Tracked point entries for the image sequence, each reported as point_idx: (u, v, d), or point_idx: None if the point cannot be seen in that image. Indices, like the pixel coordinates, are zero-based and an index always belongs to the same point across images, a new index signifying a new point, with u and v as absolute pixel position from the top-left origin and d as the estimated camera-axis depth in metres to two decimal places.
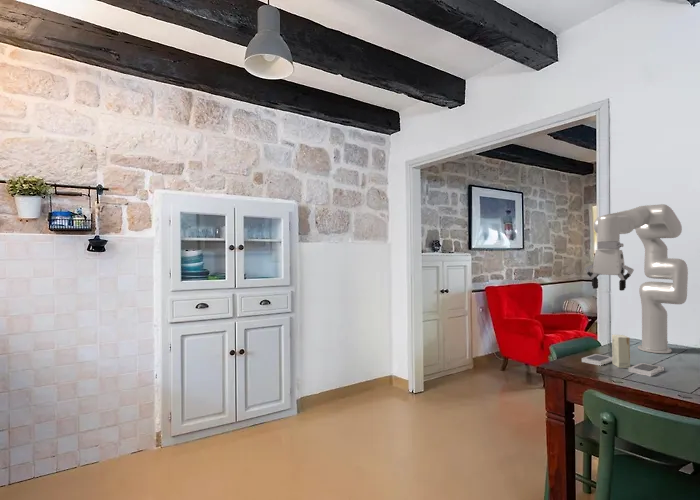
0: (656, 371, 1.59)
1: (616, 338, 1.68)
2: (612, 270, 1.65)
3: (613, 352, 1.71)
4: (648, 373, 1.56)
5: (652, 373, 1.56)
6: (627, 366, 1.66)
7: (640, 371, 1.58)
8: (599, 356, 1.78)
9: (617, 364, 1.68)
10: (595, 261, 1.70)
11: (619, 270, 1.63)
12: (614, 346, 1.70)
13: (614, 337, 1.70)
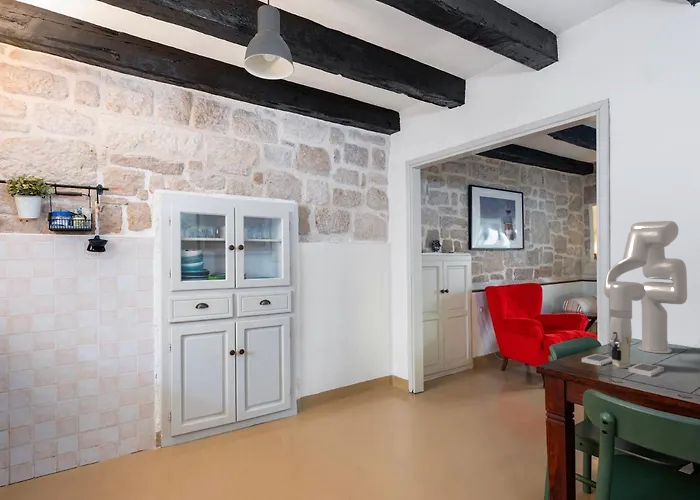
0: (656, 371, 1.59)
1: None
2: None
3: None
4: (648, 373, 1.56)
5: (652, 373, 1.56)
6: (627, 366, 1.66)
7: (640, 371, 1.58)
8: (599, 356, 1.78)
9: (617, 364, 1.68)
10: (622, 331, 1.65)
11: None
12: None
13: None
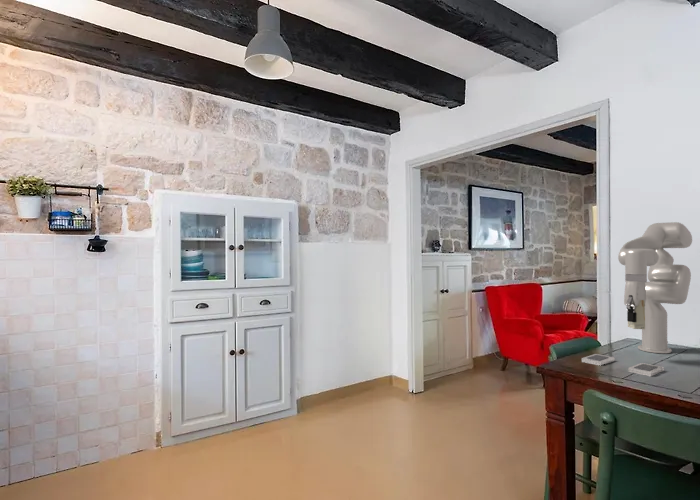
0: (656, 371, 1.59)
1: None
2: None
3: None
4: (648, 373, 1.56)
5: (652, 373, 1.56)
6: (642, 327, 1.74)
7: (640, 371, 1.58)
8: (599, 356, 1.78)
9: (632, 326, 1.76)
10: (637, 294, 1.73)
11: None
12: None
13: None
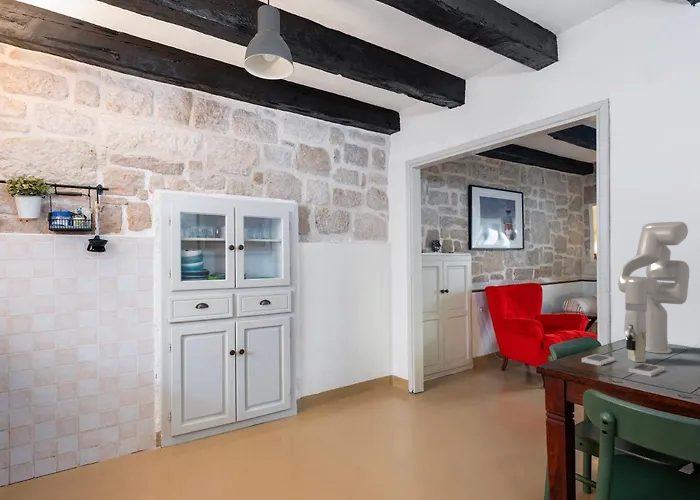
0: (656, 371, 1.59)
1: None
2: (644, 330, 1.77)
3: None
4: (648, 373, 1.56)
5: (652, 373, 1.56)
6: (643, 360, 1.74)
7: (640, 371, 1.58)
8: (599, 356, 1.78)
9: (633, 358, 1.76)
10: (637, 323, 1.73)
11: None
12: None
13: None
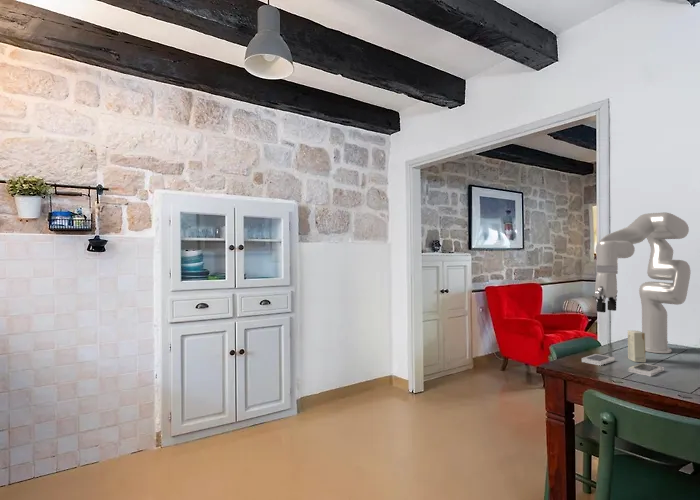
0: (656, 371, 1.59)
1: (632, 334, 1.77)
2: (614, 292, 1.76)
3: (629, 347, 1.79)
4: (648, 373, 1.56)
5: (652, 373, 1.56)
6: (643, 360, 1.74)
7: (640, 371, 1.58)
8: (599, 356, 1.78)
9: (633, 358, 1.76)
10: (608, 285, 1.72)
11: None
12: (630, 341, 1.78)
13: (630, 333, 1.78)
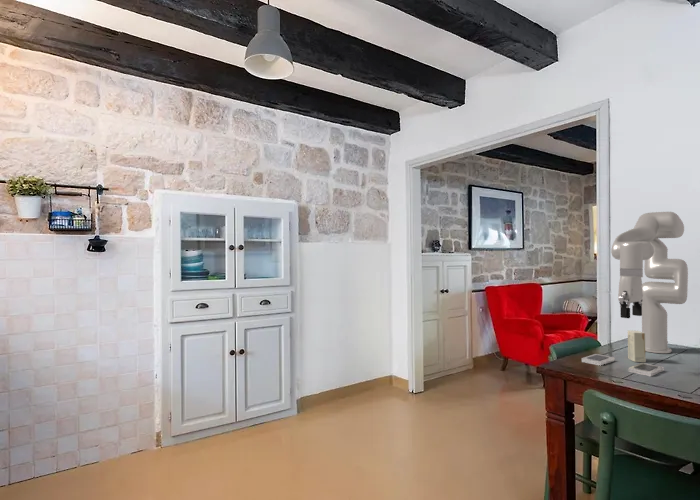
0: (656, 371, 1.59)
1: (632, 334, 1.77)
2: (640, 297, 1.65)
3: (629, 347, 1.79)
4: (648, 373, 1.56)
5: (652, 373, 1.56)
6: (643, 360, 1.74)
7: (640, 371, 1.58)
8: (599, 356, 1.78)
9: (633, 358, 1.76)
10: (632, 289, 1.62)
11: None
12: (630, 341, 1.78)
13: (630, 333, 1.78)
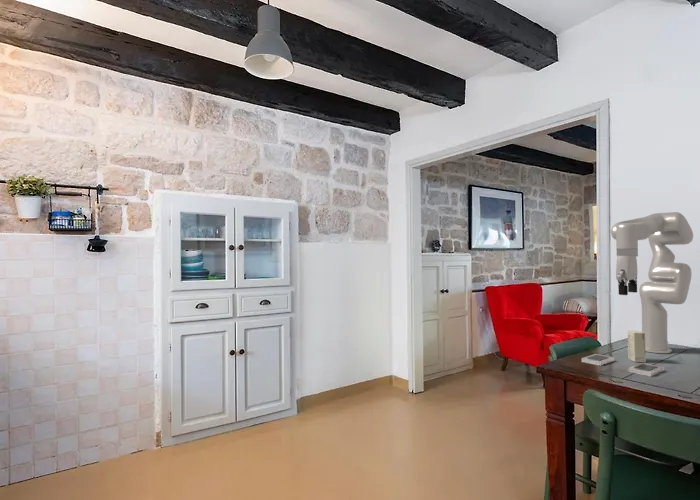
0: (656, 371, 1.59)
1: (632, 334, 1.77)
2: (635, 275, 1.76)
3: (629, 347, 1.79)
4: (648, 373, 1.56)
5: (652, 373, 1.56)
6: (643, 360, 1.74)
7: (640, 371, 1.58)
8: (599, 356, 1.78)
9: (633, 358, 1.76)
10: (629, 268, 1.73)
11: None
12: (630, 341, 1.78)
13: (630, 333, 1.78)
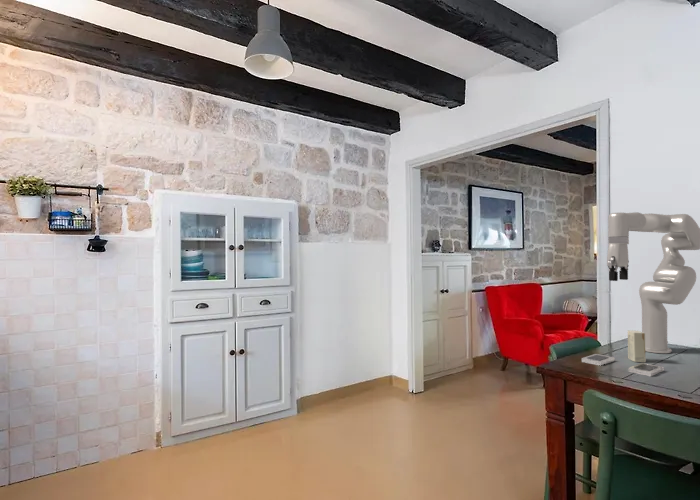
0: (656, 371, 1.59)
1: (632, 334, 1.77)
2: (626, 262, 1.84)
3: (629, 347, 1.79)
4: (648, 373, 1.56)
5: (652, 373, 1.56)
6: (643, 360, 1.74)
7: (640, 371, 1.58)
8: (599, 356, 1.78)
9: (633, 358, 1.76)
10: (619, 255, 1.80)
11: None
12: (630, 341, 1.78)
13: (630, 333, 1.78)
